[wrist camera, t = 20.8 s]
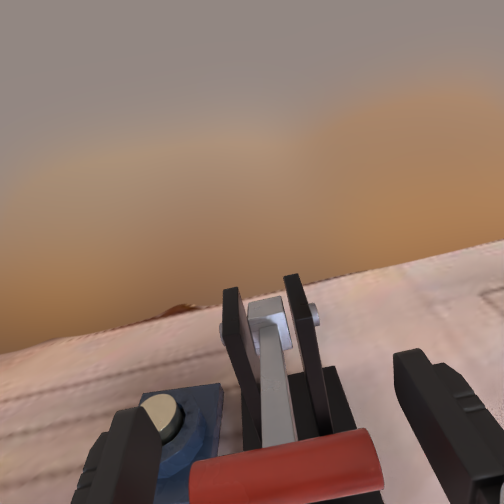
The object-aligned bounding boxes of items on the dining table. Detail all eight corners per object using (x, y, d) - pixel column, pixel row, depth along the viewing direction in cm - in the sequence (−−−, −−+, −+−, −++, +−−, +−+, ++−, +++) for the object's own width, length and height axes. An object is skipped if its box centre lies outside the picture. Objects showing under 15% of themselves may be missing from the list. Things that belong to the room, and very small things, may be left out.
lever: (391, 515, 9) (377, 442, 9) (202, 550, 10) (179, 480, 9) (312, 323, 22) (304, 289, 22) (232, 340, 23) (224, 307, 22)
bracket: (388, 524, 22) (378, 363, 14) (251, 549, 22) (176, 405, 15) (336, 374, 32) (315, 239, 25) (243, 393, 33) (197, 266, 25)
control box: (211, 510, 24) (196, 485, 23) (109, 519, 26) (88, 496, 24) (224, 392, 33) (214, 368, 31) (148, 402, 34) (134, 379, 33)
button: (178, 445, 26) (170, 432, 25) (134, 450, 27) (125, 437, 26) (186, 404, 29) (180, 391, 28) (148, 409, 30) (140, 396, 29)
